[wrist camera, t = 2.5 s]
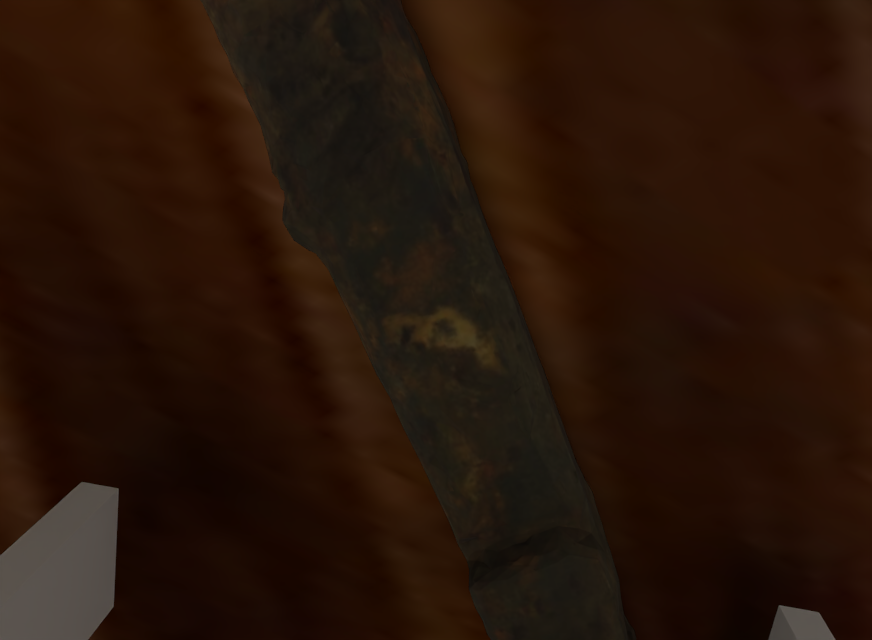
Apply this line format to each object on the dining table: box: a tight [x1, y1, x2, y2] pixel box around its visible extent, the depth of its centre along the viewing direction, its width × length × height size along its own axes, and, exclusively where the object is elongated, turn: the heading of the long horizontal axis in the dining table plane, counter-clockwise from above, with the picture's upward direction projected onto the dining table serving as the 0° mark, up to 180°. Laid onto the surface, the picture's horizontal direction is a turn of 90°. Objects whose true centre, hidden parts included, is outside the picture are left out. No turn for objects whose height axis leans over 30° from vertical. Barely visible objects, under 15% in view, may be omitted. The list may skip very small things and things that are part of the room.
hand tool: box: [201, 0, 636, 640], centre depth 15 cm, size 19×4×5 cm, turn 20°
